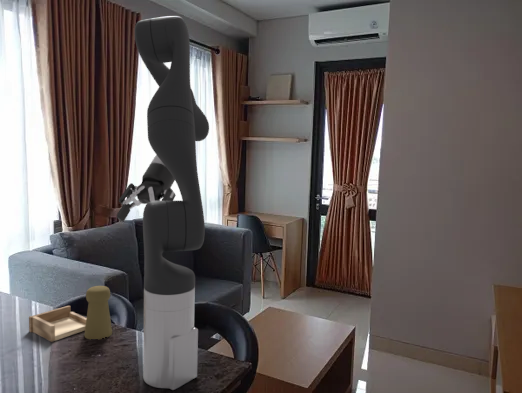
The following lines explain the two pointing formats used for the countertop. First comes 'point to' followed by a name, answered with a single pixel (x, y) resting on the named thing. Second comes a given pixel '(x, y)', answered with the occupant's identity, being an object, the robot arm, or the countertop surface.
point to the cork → (98, 313)
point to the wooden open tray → (57, 323)
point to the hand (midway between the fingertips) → (132, 221)
